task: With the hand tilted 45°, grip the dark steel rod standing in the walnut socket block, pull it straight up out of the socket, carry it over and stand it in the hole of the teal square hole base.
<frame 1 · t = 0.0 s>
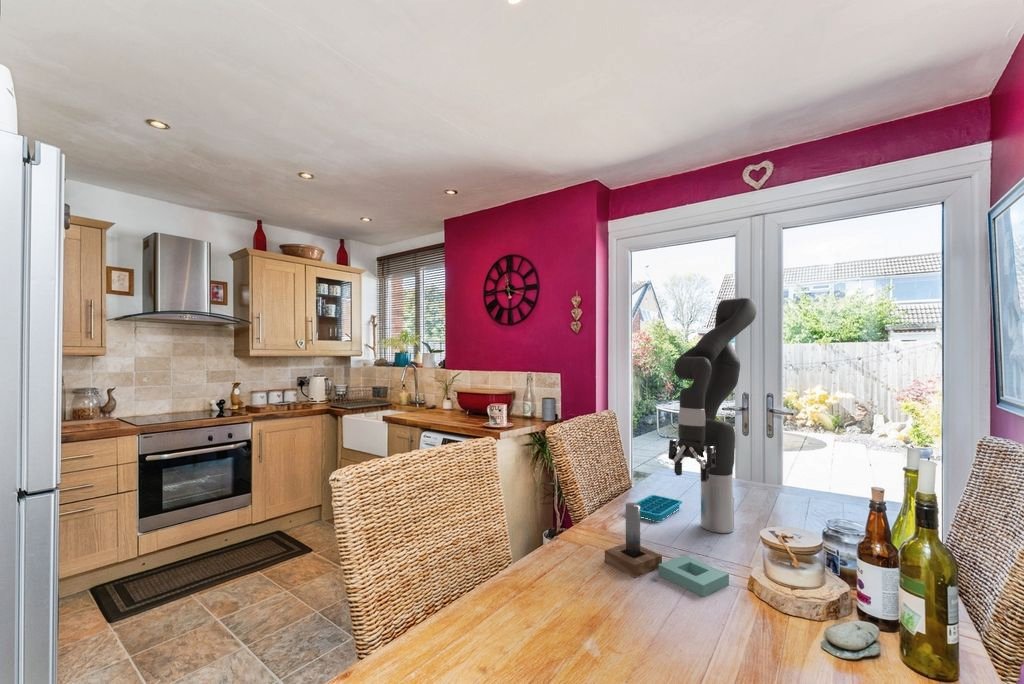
hand: (691, 478, 132), 17 cm above the table, tool pointing down, fingers open, 8 cm apart
ice cube tray: (655, 513, 153), on the table
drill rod: (632, 534, 113), in the socket block
teal square hole base: (692, 579, 106), on the table
socket block: (632, 564, 113), on the table
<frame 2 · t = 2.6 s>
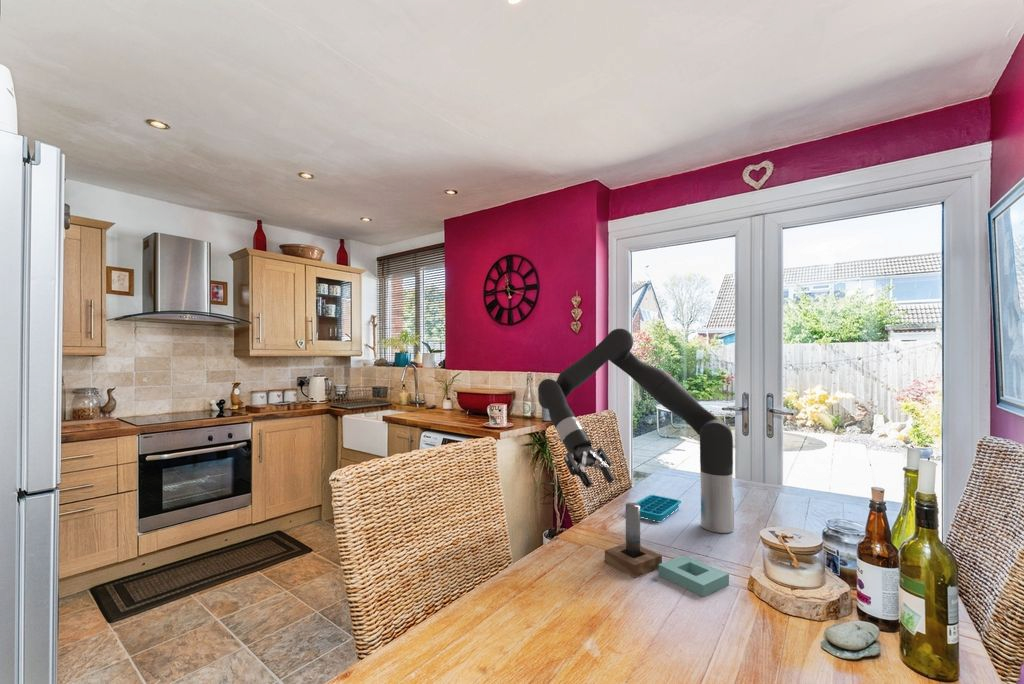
hand: (600, 483, 123), 18 cm above the table, tool tilted 45°, fingers open, 8 cm apart
nothing on the table moved.
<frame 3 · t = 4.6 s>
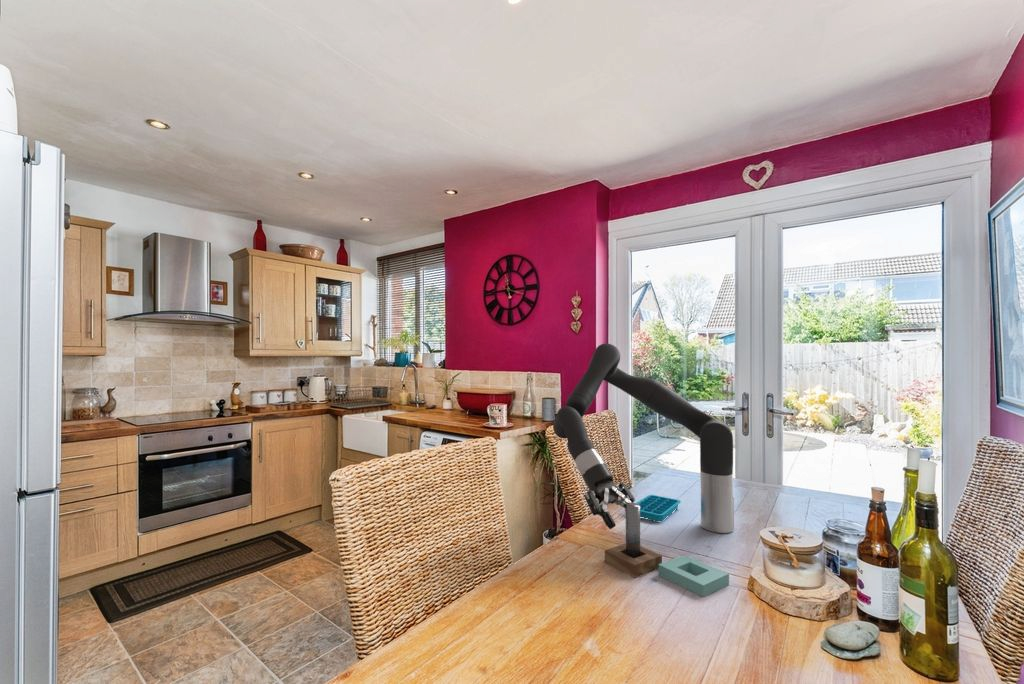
hand: (624, 523, 116), 9 cm above the table, tool tilted 45°, fingers open, 8 cm apart
nothing on the table moved.
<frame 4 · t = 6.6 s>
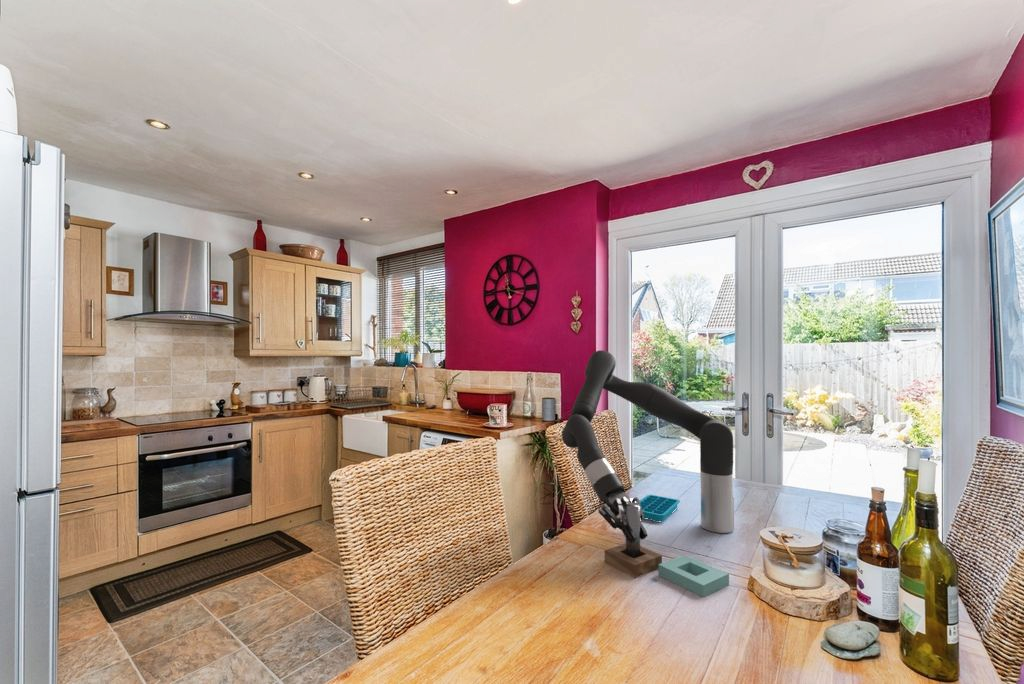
hand: (638, 539, 112), 7 cm above the table, tool tilted 45°, fingers closed on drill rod, 3 cm apart
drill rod: (632, 534, 113), in the socket block, touching gripper
everything else where it was.
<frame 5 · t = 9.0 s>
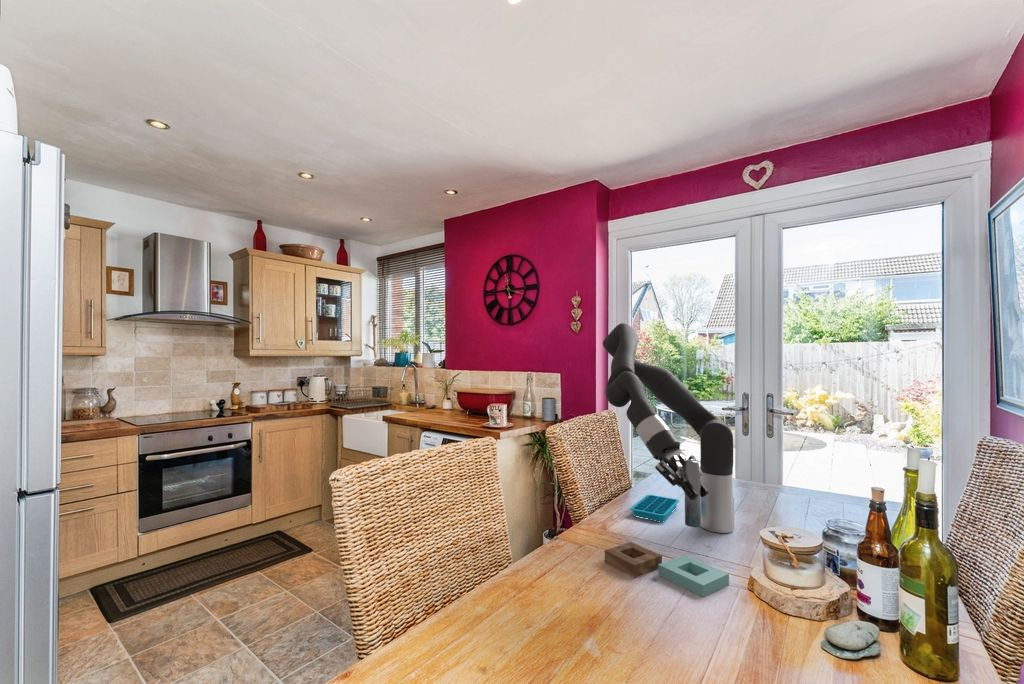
hand: (700, 496, 105), 20 cm above the table, tool tilted 45°, fingers closed on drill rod, 3 cm apart
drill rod: (692, 492, 107), point 20 cm above the table, touching gripper
everything else where it was.
when the fingers open (8 cm above the table, at t = 11.5 s): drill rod drops 1 cm, resting in teal square hole base.
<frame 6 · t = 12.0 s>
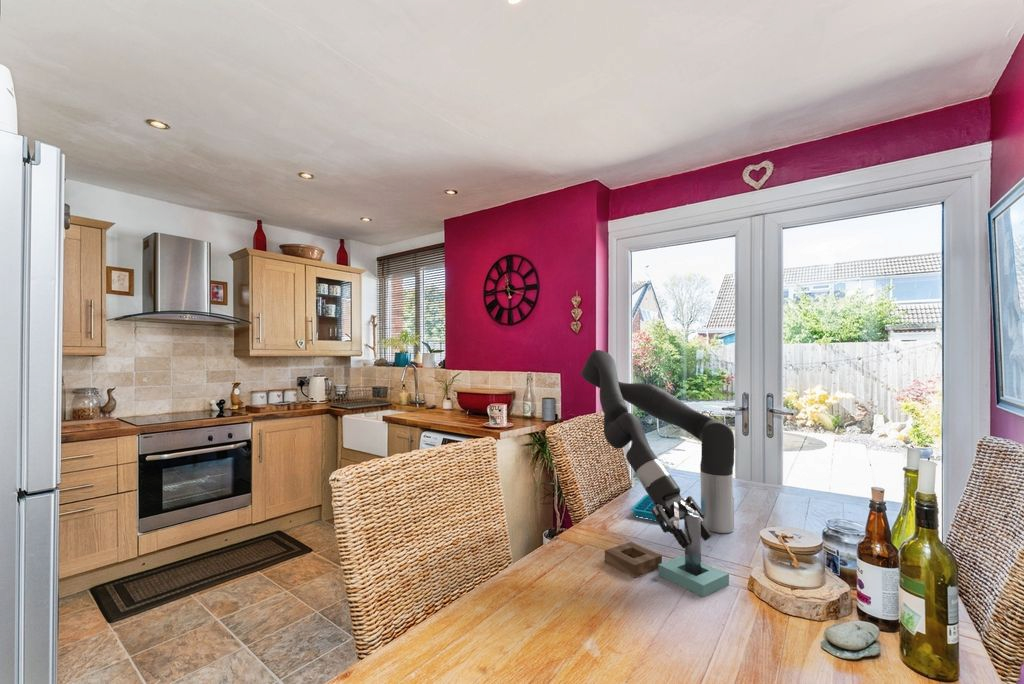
hand: (697, 542, 105), 9 cm above the table, tool tilted 45°, fingers open, 8 cm apart
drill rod: (692, 547, 106), in the teal square hole base
everything else where it was.
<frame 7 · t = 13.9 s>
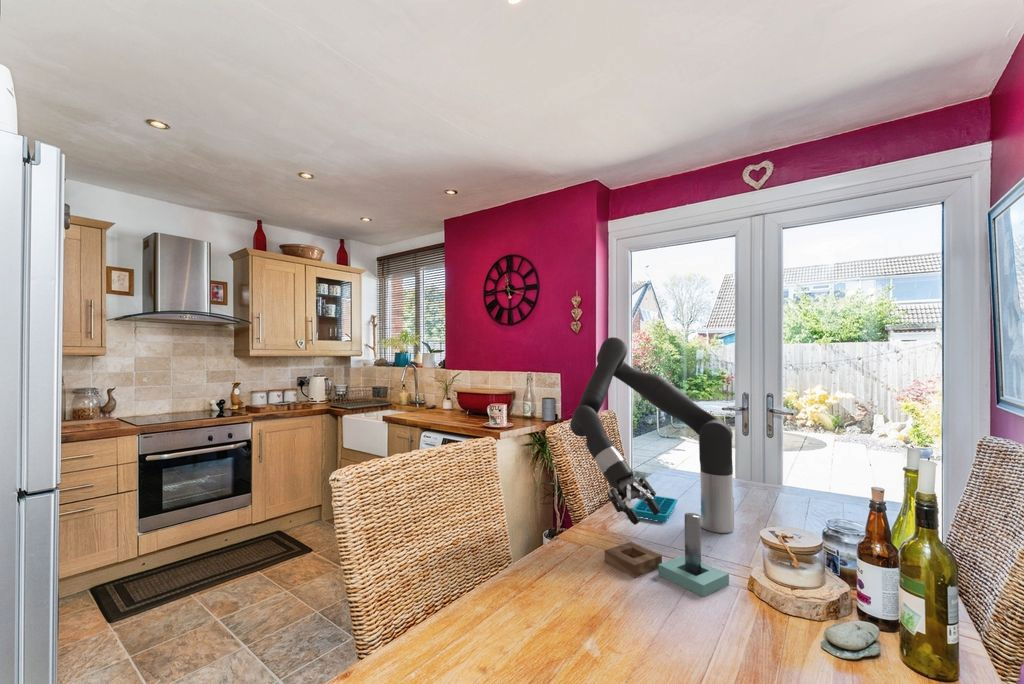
hand: (647, 518, 120), 10 cm above the table, tool tilted 45°, fingers open, 8 cm apart
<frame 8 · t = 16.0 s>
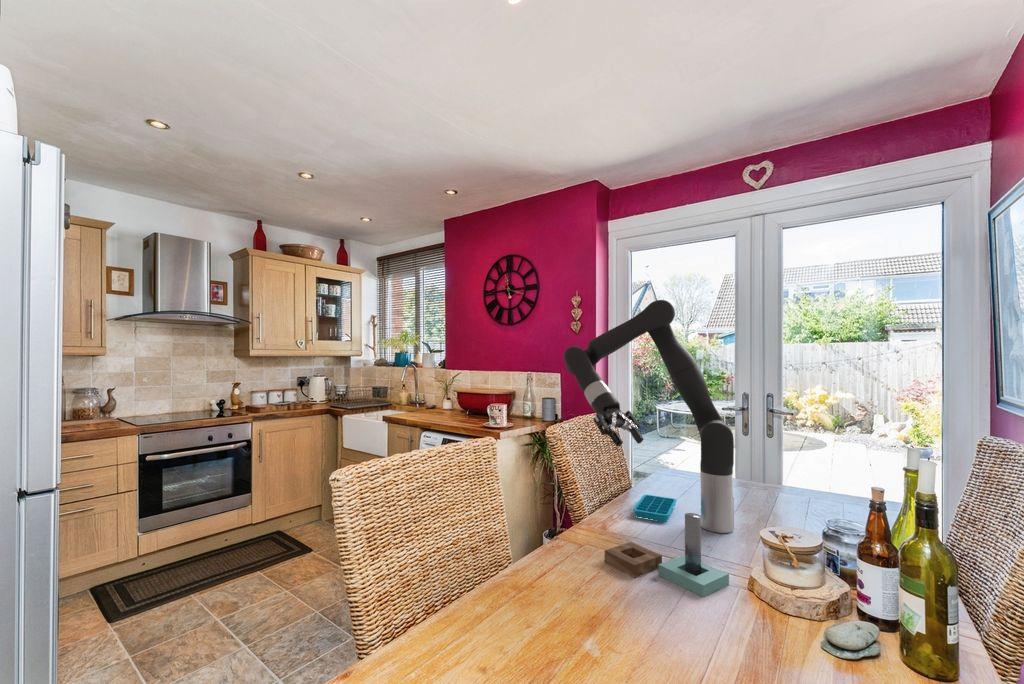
hand: (630, 443, 125), 29 cm above the table, tool tilted 45°, fingers open, 8 cm apart
at the end: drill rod 0.0 cm off-centre on the teal square hole base, point 7.5 cm above the teal square hole base's base; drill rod tilted 0°; the gripper is holding nothing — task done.
